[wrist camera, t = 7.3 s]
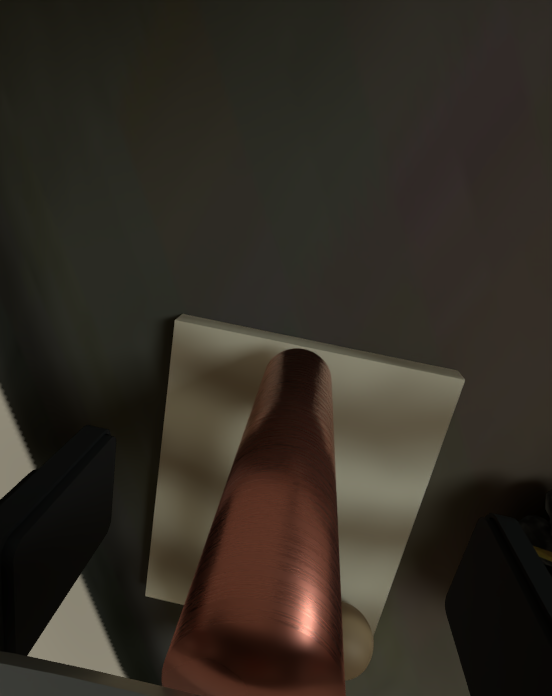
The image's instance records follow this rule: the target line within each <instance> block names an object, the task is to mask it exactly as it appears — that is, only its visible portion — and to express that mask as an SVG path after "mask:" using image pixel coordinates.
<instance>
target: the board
mask: <svg viewBox="0 0 552 696" xmlns="http://www.w3.org/2000/svg"><path fill="white" fill-rule="evenodd" d="M293 348H300V349H306V350H309V351H312V352H314V353H316V354H317V355H319V356H320V357H321V358H322V359H323V360H324V361H325V362H326V364H327V366H328V367H329V370H330V373H331V378H332V400H333V423H334V446H335V468H336V491H337V514H338V536H339V559H340V581H341V602H345V603H348V604H350V605H352V606H354V607H355V608H357V609H358V610H359V611H360V612H361V613H362V614H363V615H364V617H365V618H366V619H367V621H368V623H369V625H370V628H371V631H372V635H374V633H375V630H376V627H377V624H378V621H379V619H380V616H381V613H382V610H383V607H384V605H385V602H386V599H387V596H388V594H389V591H390V588H391V585H392V582H393V580H394V577H395V574H396V571H397V568H398V566H399V563H400V560H401V557H402V554H403V552H404V549H405V546H406V543H407V541H408V538H409V535H410V532H411V529H412V527H413V524H414V521H415V518H416V515H417V513H418V510H419V507H420V504H421V502H422V499H423V496H424V493H425V490H426V488H427V485H428V482H429V479H430V476H431V474H432V471H433V468H434V465H435V462H436V460H437V457H438V454H439V451H440V449H441V446H442V443H443V440H444V437H445V435H446V432H447V429H448V426H449V423H450V421H451V418H452V415H453V412H454V410H455V407H456V404H457V401H458V398H459V396H460V393H461V390H462V387H463V384H464V382H465V379H464V378H463V377H462V375H461V374H460V373H459V372H458V371H457V370H453V369H448V368H443V367H438V366H433V365H428V364H423V363H419V362H414V361H409V360H404V359H399V358H394V357H389V356H385V355H380V354H375V353H370V352H365V351H360V350H355V349H351V348H346V347H341V346H336V345H331V344H326V343H322V342H317V341H312V340H307V339H302V338H297V337H292V336H288V335H283V334H278V333H273V332H268V331H263V330H258V329H254V328H249V327H244V326H239V325H234V324H229V323H224V322H220V321H215V320H210V319H205V318H200V317H195V316H191V315H186V314H182V315H181V316H179V317H178V318H177V319H176V320H175V324H174V333H173V343H172V352H171V361H170V370H169V380H168V389H167V398H166V408H165V417H164V426H163V436H162V445H161V454H160V464H159V473H158V482H157V491H156V501H155V510H154V519H153V529H152V538H151V547H150V557H149V566H148V575H147V585H146V594H145V596H147V597H151V598H156V599H160V600H164V601H169V602H173V603H177V604H181V605H184V604H185V601H186V598H187V595H188V592H189V589H190V586H191V583H192V581H193V578H194V575H195V572H196V569H197V566H198V563H199V560H200V557H201V554H202V552H203V549H204V546H205V543H206V540H207V537H208V534H209V531H210V528H211V526H212V523H213V520H214V517H215V514H216V511H217V508H218V505H219V502H220V500H221V497H222V494H223V491H224V488H225V485H226V482H227V479H228V476H229V473H230V471H231V468H232V465H233V462H234V459H235V456H236V453H237V450H238V447H239V445H240V442H241V439H242V436H243V433H244V430H245V427H246V424H247V421H248V419H249V416H250V413H251V410H252V407H253V404H254V401H255V398H256V395H257V392H258V390H259V387H260V384H261V381H262V378H263V375H264V372H265V369H266V367H267V365H268V363H269V362H270V360H271V359H272V358H273V357H274V356H276V355H277V354H278V353H280V352H282V351H285V350H288V349H293Z"/></svg>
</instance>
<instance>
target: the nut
mask: <svg viewBox="0 0 552 696" xmlns="http://www.w3.org/2000/svg"><path fill="white" fill-rule="evenodd" d="M341 604H342V627H343V649H344V672H345V680H350V679H353V678H355V677H357V676H359V675H360V674H361V673H362V672H363V671H364V670H365V669H366V668H367V666H368V665H369V662H370V660H371V657H372V653H373V635H372V631H371V628H370V625H369V623H368V621H367V619H366V618H365V617H364V615H363V614H362V613H361V612H360V611H359V610H358V609H357V608H355V607H354V606H352V605H350V604H348V603H345V602H341Z"/></svg>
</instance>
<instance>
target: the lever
mask: <svg viewBox="0 0 552 696" xmlns="http://www.w3.org/2000/svg"><path fill="white" fill-rule="evenodd" d="M162 684H163V687H167V688H171V689H175V690H180V691H184V692H188V693H192V694H197V695H201V696H346V695H345V672H344V649H343V627H342V604H341V581H340V559H339V536H338V514H337V491H336V468H335V446H334V423H333V400H332V378H331V373H330V370H329V367H328V366H327V364H326V362H325V361H324V360H323V359H322V358H321V357H320V356H319V355H317V354H316V353H314V352H312V351H309V350H306V349H300V348H293V349H288V350H285V351H282V352H280V353H278V354H277V355H276V356H274V357H273V358H272V359H271V360H270V362H269V363H268V365H267V367H266V369H265V372H264V375H263V378H262V381H261V384H260V387H259V390H258V392H257V395H256V398H255V401H254V404H253V407H252V410H251V413H250V416H249V419H248V421H247V424H246V427H245V430H244V433H243V436H242V439H241V442H240V445H239V447H238V450H237V453H236V456H235V459H234V462H233V465H232V468H231V471H230V473H229V476H228V479H227V482H226V485H225V488H224V491H223V494H222V497H221V500H220V502H219V505H218V508H217V511H216V514H215V517H214V520H213V523H212V526H211V528H210V531H209V534H208V537H207V540H206V543H205V546H204V549H203V552H202V554H201V557H200V560H199V563H198V566H197V569H196V572H195V575H194V578H193V581H192V583H191V586H190V589H189V592H188V595H187V598H186V601H185V604H184V607H183V609H182V612H181V615H180V618H179V621H178V624H177V627H176V630H175V633H174V635H173V638H172V641H171V644H170V647H169V650H168V653H167V656H166V659H165V662H164V665H163V670H162Z"/></svg>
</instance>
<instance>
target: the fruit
mask: <svg viewBox="0 0 552 696" xmlns="http://www.w3.org/2000/svg"><path fill="white" fill-rule="evenodd" d="M545 510H546V511H547V513H548V515H549V517H550V520H549V521H547V520H546V519H545V518H542V517H540V516H538V515H528V516H526V517H524V518H522V519H521V520H519V521H518V522H519V524H520V526H521V527H522V529H523V531H524V532H525V534H526V535H527V537H528V539H529V540H530V542H531V544H532V545H533V547H534V549H535V550H536V552H537V554H538V555H539V557H540V559H541V560H542V562H543V564H544V565H545V567H546V568H547V570H548V572H549V573H550V575H551V577H552V490H550V491H549V492H547V493H546V501H545Z"/></svg>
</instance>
